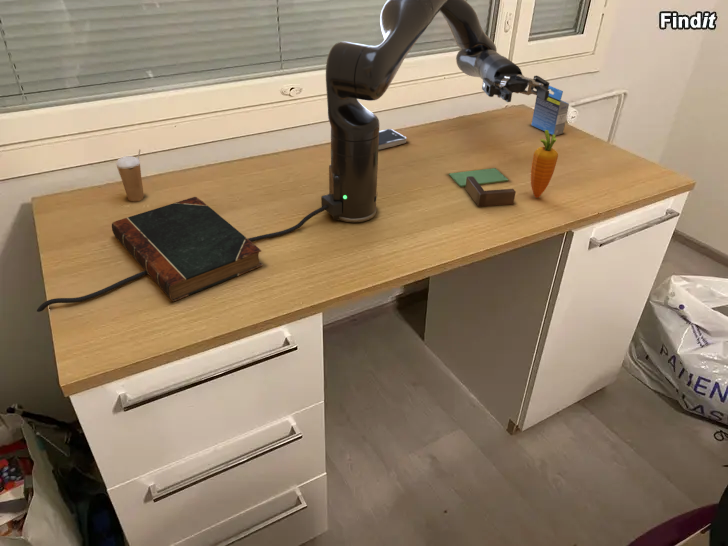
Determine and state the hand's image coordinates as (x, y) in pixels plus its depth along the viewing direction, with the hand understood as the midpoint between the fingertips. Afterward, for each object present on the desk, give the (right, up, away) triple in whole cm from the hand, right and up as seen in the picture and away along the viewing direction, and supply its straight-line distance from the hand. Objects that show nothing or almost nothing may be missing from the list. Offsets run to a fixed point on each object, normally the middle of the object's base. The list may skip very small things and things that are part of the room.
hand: (528, 96), depth 128 cm
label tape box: (+14, +1, +33) cm, 36 cm away
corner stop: (-8, -22, 0) cm, 23 cm away
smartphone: (-33, -6, +22) cm, 40 cm away
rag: (-9, -17, +8) cm, 20 cm away
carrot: (+2, -22, 0) cm, 22 cm away
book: (-68, -35, -21) cm, 80 cm away
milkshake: (-84, -23, -4) cm, 87 cm away
